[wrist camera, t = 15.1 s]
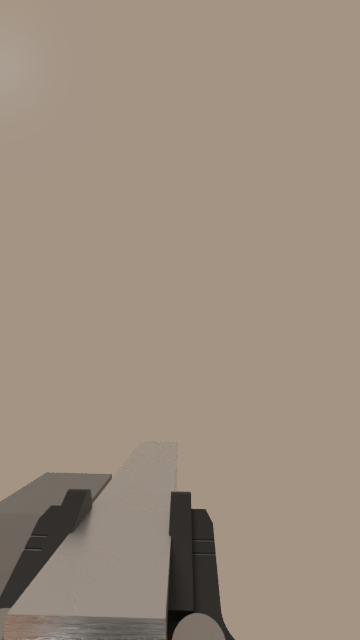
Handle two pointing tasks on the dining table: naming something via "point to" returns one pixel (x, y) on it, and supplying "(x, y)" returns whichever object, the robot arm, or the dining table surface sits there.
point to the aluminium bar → (109, 562)
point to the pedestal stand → (36, 511)
